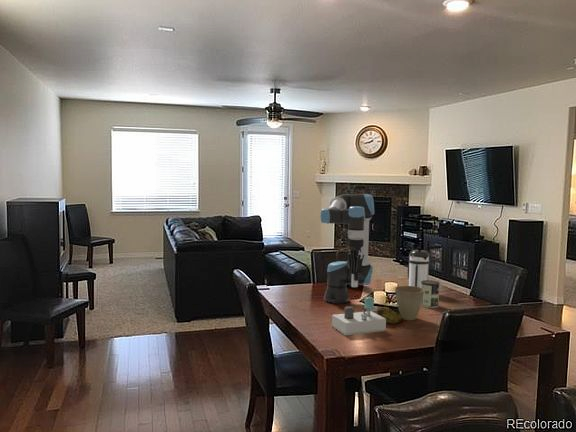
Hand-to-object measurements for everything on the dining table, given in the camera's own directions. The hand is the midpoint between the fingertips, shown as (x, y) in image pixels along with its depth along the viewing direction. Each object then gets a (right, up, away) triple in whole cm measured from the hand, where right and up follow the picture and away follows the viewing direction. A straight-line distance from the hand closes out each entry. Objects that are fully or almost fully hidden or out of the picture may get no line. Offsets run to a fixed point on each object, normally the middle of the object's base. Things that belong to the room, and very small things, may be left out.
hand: (354, 286), depth 234 cm
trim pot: (+4, -16, -2) cm, 16 cm away
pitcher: (+10, -13, +98) cm, 100 cm away
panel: (+2, -21, +3) cm, 21 cm away
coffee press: (+52, -15, +83) cm, 99 cm away
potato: (+20, -21, +14) cm, 32 cm away
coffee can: (+50, -18, +48) cm, 72 cm away
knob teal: (+8, -16, +4) cm, 18 cm away
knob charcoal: (-3, -20, +1) cm, 20 cm away
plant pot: (+32, -20, +21) cm, 43 cm away
